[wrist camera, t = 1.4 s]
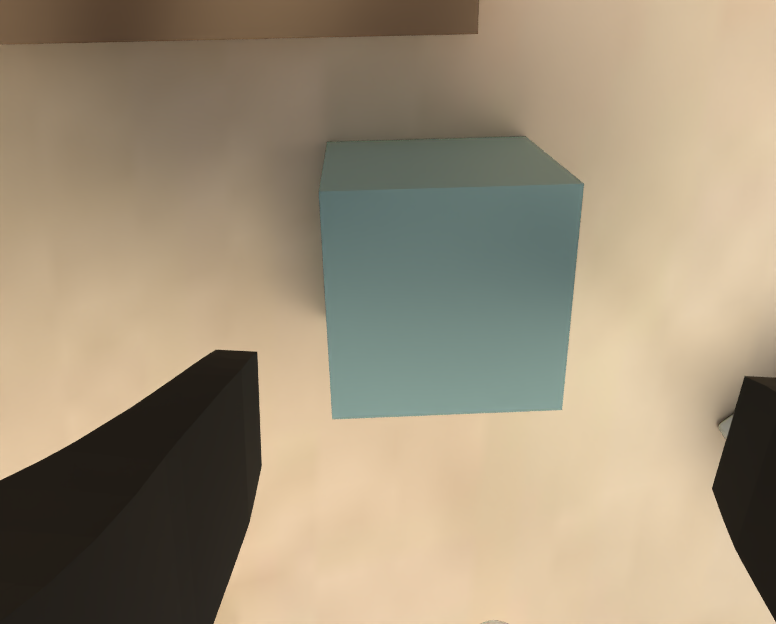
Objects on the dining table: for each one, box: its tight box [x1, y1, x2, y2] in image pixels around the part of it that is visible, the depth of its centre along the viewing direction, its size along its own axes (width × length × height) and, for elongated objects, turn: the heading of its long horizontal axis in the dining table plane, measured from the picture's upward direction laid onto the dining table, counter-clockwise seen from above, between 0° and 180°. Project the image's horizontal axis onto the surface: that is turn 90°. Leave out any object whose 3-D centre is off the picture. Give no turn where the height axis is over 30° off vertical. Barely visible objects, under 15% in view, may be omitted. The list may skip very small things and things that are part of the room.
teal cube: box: [319, 136, 584, 419], centre depth 17 cm, size 5×5×5 cm
